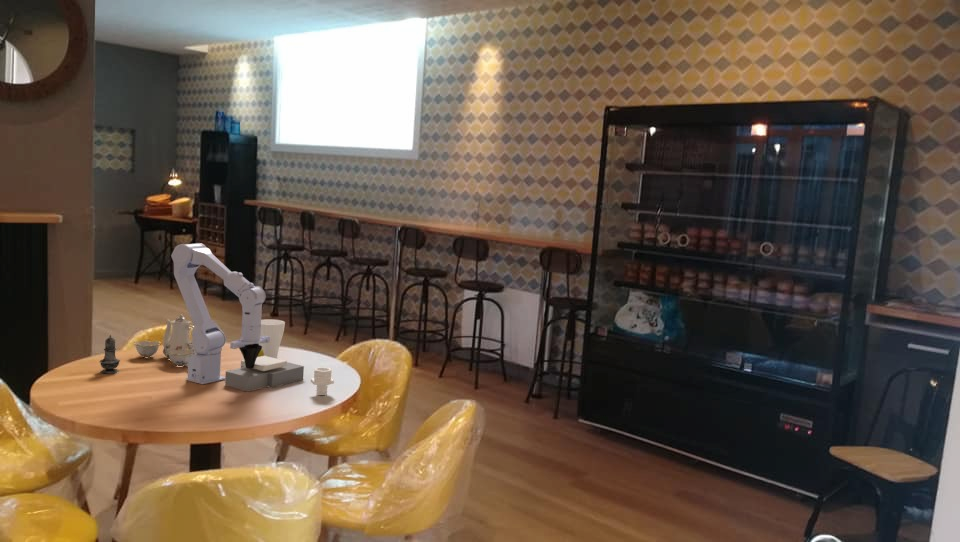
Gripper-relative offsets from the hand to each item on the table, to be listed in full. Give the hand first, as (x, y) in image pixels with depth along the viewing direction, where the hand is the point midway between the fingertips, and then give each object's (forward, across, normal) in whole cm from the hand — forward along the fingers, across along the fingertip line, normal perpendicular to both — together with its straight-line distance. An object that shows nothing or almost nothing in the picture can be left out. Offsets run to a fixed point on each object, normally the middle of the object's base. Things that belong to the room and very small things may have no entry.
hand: (249, 367), depth 223 cm
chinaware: (+6, +4, +42) cm, 42 cm away
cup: (+6, +30, +22) cm, 38 cm away
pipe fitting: (+6, +8, -23) cm, 25 cm away
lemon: (+6, +16, +14) cm, 22 cm away
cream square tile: (0, +6, 0) cm, 6 cm away
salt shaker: (+6, -19, +42) cm, 46 cm away
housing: (+6, +6, 0) cm, 8 cm away
